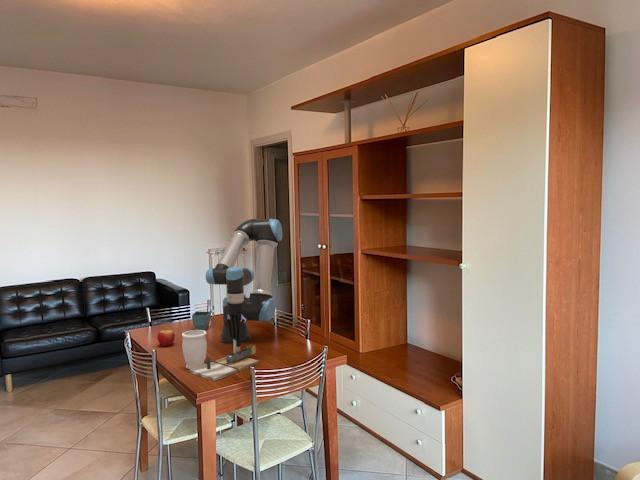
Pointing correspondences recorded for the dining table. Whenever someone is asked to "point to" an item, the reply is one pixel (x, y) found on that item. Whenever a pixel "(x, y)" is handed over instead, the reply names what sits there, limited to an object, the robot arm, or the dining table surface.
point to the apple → (166, 337)
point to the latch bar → (241, 353)
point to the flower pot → (201, 320)
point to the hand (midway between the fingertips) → (236, 353)
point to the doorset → (223, 368)
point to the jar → (194, 348)
